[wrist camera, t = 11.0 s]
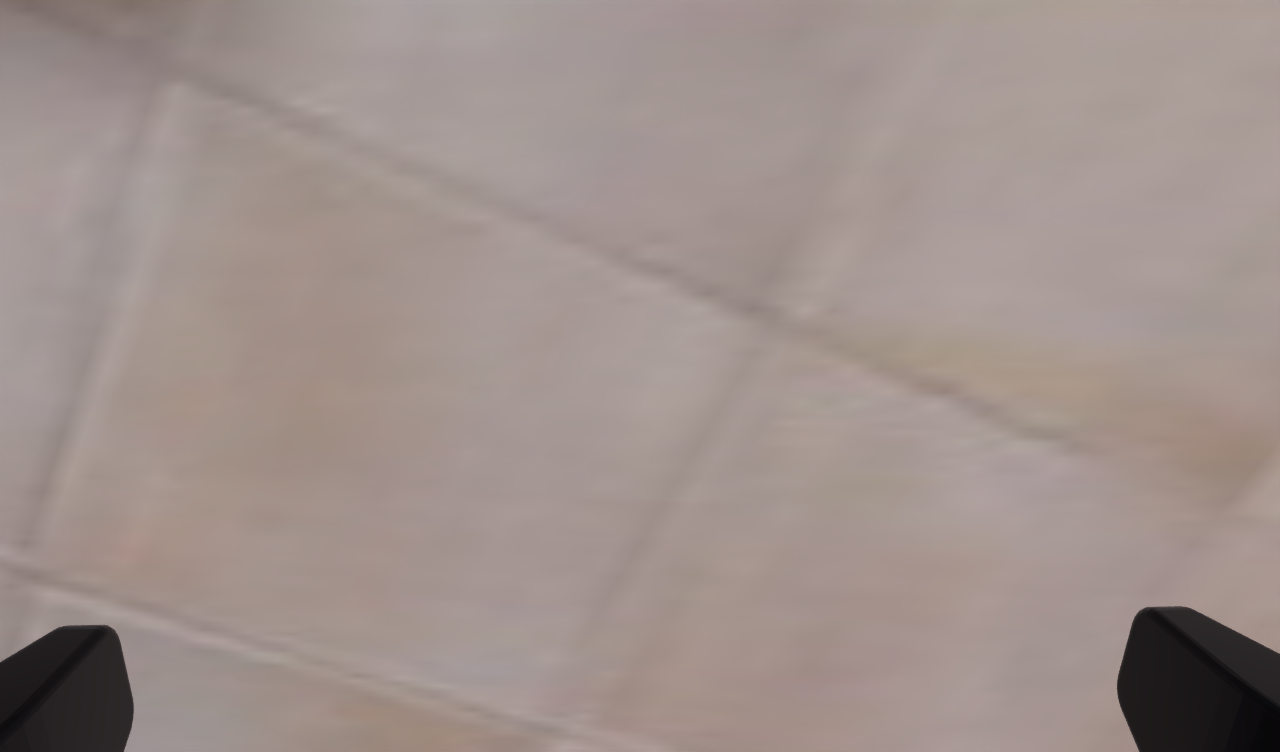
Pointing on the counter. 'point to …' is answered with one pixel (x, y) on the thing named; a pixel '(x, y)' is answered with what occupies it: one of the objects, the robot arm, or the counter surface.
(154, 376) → the counter surface
